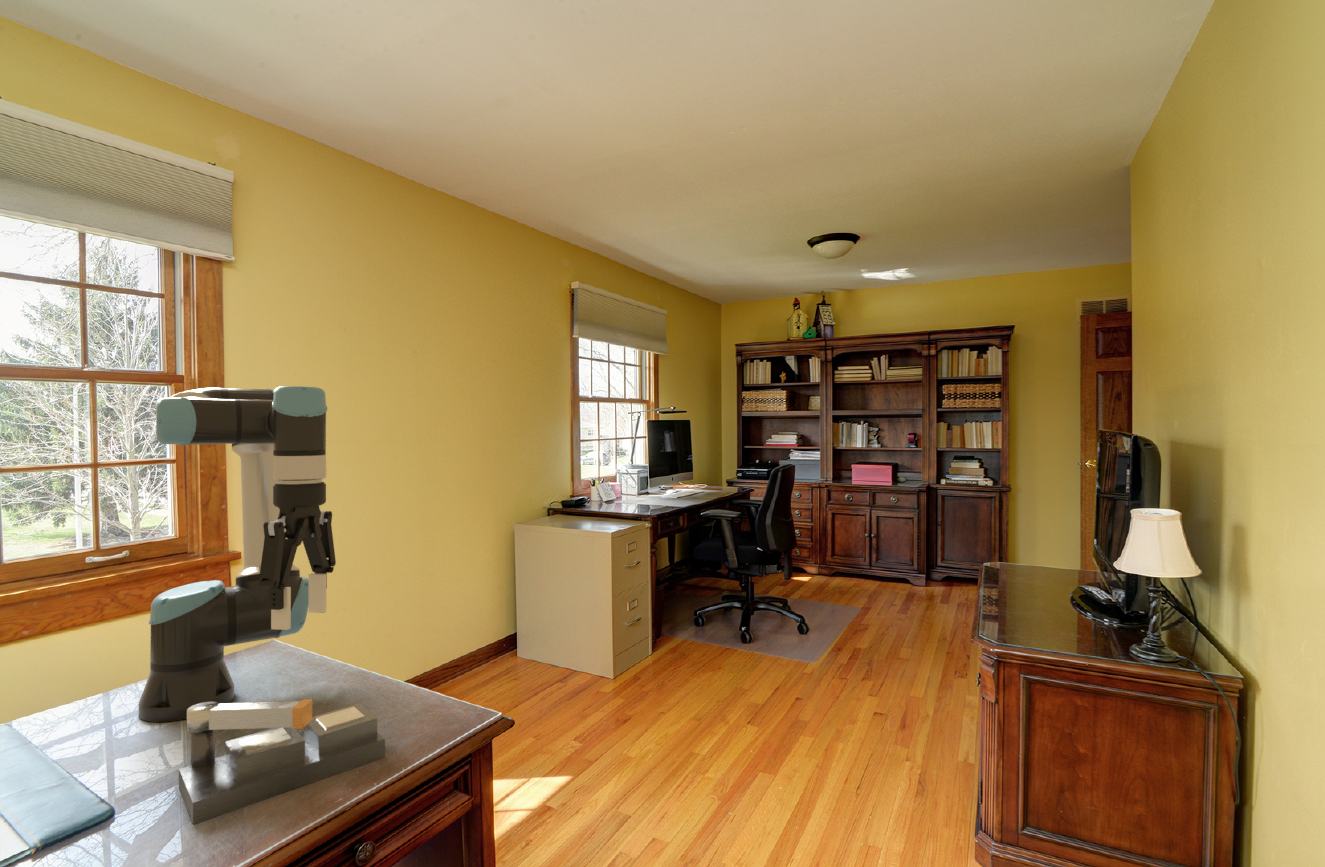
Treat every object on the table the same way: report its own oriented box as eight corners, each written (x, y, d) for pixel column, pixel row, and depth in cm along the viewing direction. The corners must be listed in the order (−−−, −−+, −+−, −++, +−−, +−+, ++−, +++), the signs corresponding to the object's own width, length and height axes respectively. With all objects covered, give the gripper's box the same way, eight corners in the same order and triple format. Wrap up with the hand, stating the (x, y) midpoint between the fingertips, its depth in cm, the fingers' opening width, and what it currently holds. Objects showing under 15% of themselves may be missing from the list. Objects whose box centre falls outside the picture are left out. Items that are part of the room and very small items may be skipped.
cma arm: (180, 733, 96) (180, 712, 96) (197, 721, 100) (197, 701, 100) (301, 729, 98) (301, 709, 98) (313, 718, 102) (313, 698, 102)
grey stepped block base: (177, 784, 98) (177, 732, 98) (355, 728, 116) (355, 685, 116) (193, 824, 88) (192, 766, 88) (384, 756, 106) (385, 708, 106)
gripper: (319, 476, 115) (318, 601, 115) (228, 487, 94) (228, 640, 94) (358, 476, 114) (358, 602, 115) (276, 487, 93) (276, 642, 94)
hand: (299, 619), depth 104 cm, fingers open, 8 cm apart
